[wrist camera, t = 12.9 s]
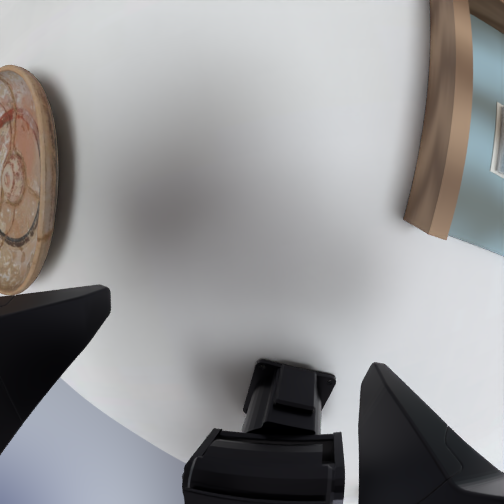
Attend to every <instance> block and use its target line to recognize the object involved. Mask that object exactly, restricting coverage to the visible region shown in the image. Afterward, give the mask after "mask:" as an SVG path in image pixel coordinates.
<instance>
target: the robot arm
mask: <svg viewBox="0 0 504 504" xmlns="http://www.w3.org/2000/svg"><path fill="white" fill-rule="evenodd" d="M110 311H111V295H110V289H109V288H108V287H105V286H103V285H91V286H84V287H76V288H68V289H60V290H52V291H44V292H36V293H28V294H20V295H16V296H15V295H11V296H2V297H0V455H1V453H2V452H3V450H4V449H5V447H6V446H7V445H8V443H9V442H10V441H11V439H12V438H13V437H14V435H15V434H16V432H17V431H18V430H19V428H20V427H21V426H22V424H23V423H24V421H25V420H26V419H27V418H28V416H29V415H30V414H31V412H32V411H33V410H34V409H35V407H36V406H37V405H38V404H39V402H40V401H41V400H42V398H43V397H44V396H45V395H46V393H47V392H48V391H49V390H50V389H51V387H52V386H53V385H54V384H55V383H56V381H57V380H58V379H59V378H60V376H61V375H62V374H63V373H64V372H65V371H66V369H67V368H68V367H69V366H70V365H71V363H72V362H73V361H74V360H75V359H76V358H77V356H78V355H79V354H80V353H81V352H82V351H83V350H84V348H85V347H86V346H87V345H88V344H89V342H90V341H91V340H92V338H93V337H94V335H95V334H96V332H97V331H98V330H99V328H100V327H101V325H102V324H103V323H104V321H105V320H106V318H107V317H108V316H109V314H110ZM260 365H264V367H262V366H260ZM329 380H331V381H330V382H328V381H329ZM335 384H336V378H335V376H333V375H330V374H325V373H320V372H315V371H310V370H306V369H301V368H297V367H293V366H288V365H284V364H280V363H276V362H272V361H268V360H264V359H261V360H258V361H257V363H256V366H255V370H254V373H253V377H252V380H251V384H250V387H249V391H248V394H247V398H246V401H245V405H244V408H243V411H244V412H245V413H246V418H245V421H244V424H243V428H242V431H241V432H232V431H222V429H216V428H214V429H213V430H212V431H211V433H210V434H209V435H208V437H207V438H206V439H205V440H204V442H203V443H202V444H201V446H200V447H199V448H198V449H197V451H196V452H195V453H194V454H193V456H192V457H191V458H190V460H189V461H188V462H187V463H186V465H185V467H184V473H183V476H182V479H183V483H182V489H183V495H184V500H185V504H343V498H344V487H345V466H344V454H343V444H342V434H341V432H335V433H333V434H321V411H322V409H323V407H324V405H325V403H326V401H327V399H328V398H329V396H330V394H331V392H332V390H333V388H334V386H335ZM358 436H359V502H358V504H504V473H503V472H501V471H500V470H498V469H497V468H496V467H495V466H493V465H492V464H491V463H490V462H488V461H487V460H486V459H485V458H484V457H482V456H481V455H480V454H479V453H478V452H476V451H475V450H474V449H473V448H472V447H471V446H469V445H468V444H467V443H466V442H465V441H464V440H463V439H462V438H461V437H460V436H458V435H457V434H456V433H455V432H454V431H453V430H452V429H451V428H450V427H449V426H448V427H447V424H446V423H445V422H444V421H443V420H442V419H441V418H440V417H439V416H438V415H437V414H436V413H435V412H434V411H433V410H432V409H431V408H430V407H429V406H428V405H427V404H426V403H425V402H424V401H423V400H422V399H421V398H420V397H419V396H418V395H417V394H415V393H414V392H413V391H412V390H411V389H410V388H409V387H408V386H407V385H406V384H405V383H404V382H403V381H402V380H401V379H400V378H399V377H398V376H397V375H396V374H395V373H394V372H393V371H392V370H391V369H390V368H389V367H388V366H387V365H385V364H383V363H377V362H374V363H372V364H371V366H370V368H369V370H368V372H367V374H366V375H365V377H364V379H363V381H362V384H361V391H360V408H359V423H358Z"/></svg>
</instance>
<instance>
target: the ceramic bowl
mask: <svg viewBox="0 0 504 504" xmlns="http://www.w3.org/2000/svg"><path fill="white" fill-rule="evenodd" d="M57 194H58V149H57V137H56V130H55V123H54V118H53V114H52V110H51V106H50V103H49V101H48V98H47V96H46V93H45V91H44V89H43V87H42V86H41V84H40V83H39V81H38V80H37V79H36V78H35V76H34V75H33V74H31V73H30V72H29V71H27V70H26V69H24V68H21V67H18V66H14V65H6V66H3V67H1V68H0V293H1V294H4V295H16V294H19V293H21V292H23V291H24V290H26V289H27V288H28V287H29V286H30V285H31V284H32V283H33V282H34V281H35V279H36V278H37V276H38V275H39V273H40V271H41V269H42V266H43V264H44V262H45V259H46V257H47V254H48V250H49V247H50V243H51V239H52V235H53V230H54V223H55V213H56V206H57Z"/></svg>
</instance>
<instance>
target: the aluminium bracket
mask: <svg viewBox="0 0 504 504" xmlns="http://www.w3.org/2000/svg"><path fill="white" fill-rule="evenodd" d="M496 171H497V172H499V173H500V174H502V175H504V107H502V117H501V132H500V142H499V151H498V159H497V166H496Z"/></svg>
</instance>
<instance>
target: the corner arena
mask: <svg viewBox="0 0 504 504" xmlns="http://www.w3.org/2000/svg"><path fill="white" fill-rule="evenodd" d="M430 26H431V35H430V65H429V80H428V91H427V100H426V109H425V117H424V124H423V130H422V137H421V143H420V148H419V154H418V159H417V164H416V169H415V174H414V178H413V183H412V187H411V191H410V196H409V200H408V204H407V208H406V211H405V215H404V219H403V220H405V221H407V222H408V223H410V224H412V225H414V226H415V227H417V228H419V229H420V230H422V231H424V232H425V233H427V234H429V235H432V236H435V237H438V238H441V239H444V240H447V237H448V235H449V236H452V237H455V238H458V239H460V240H463V241H466V242H468V243H471V244H474V245H476V246H479V247H482V248H484V249H487V250H489V251H492V252H494V253H497V254H499V255H502V256H504V175H502V174H500V173H499V172H497V171H496V166H497V159H498V151H499V142H500V132H501V117H502V107H504V0H430Z"/></svg>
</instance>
